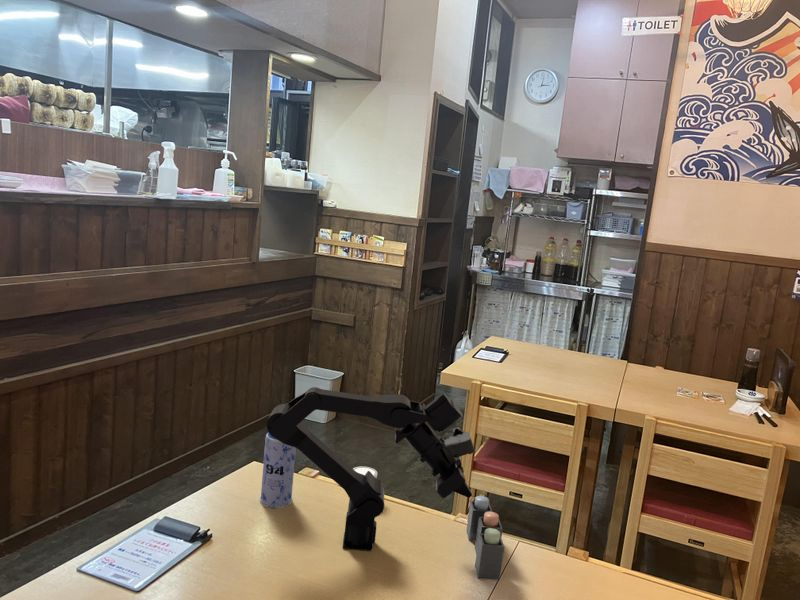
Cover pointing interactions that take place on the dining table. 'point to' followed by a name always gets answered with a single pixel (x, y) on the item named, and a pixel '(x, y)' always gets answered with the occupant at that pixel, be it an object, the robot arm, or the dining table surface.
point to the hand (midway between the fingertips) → (470, 495)
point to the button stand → (484, 545)
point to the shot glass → (364, 470)
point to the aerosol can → (277, 473)
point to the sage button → (491, 536)
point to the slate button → (481, 503)
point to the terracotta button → (490, 519)
